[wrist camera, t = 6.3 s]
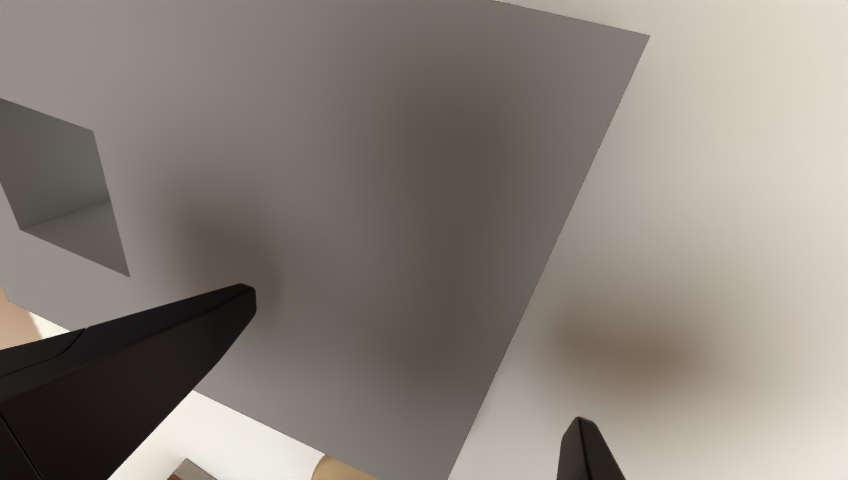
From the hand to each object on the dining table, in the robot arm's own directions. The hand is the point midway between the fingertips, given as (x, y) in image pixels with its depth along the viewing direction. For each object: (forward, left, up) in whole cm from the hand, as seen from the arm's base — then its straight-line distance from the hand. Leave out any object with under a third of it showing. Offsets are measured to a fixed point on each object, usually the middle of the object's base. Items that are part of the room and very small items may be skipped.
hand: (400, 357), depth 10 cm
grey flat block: (0, +9, -4) cm, 10 cm away
